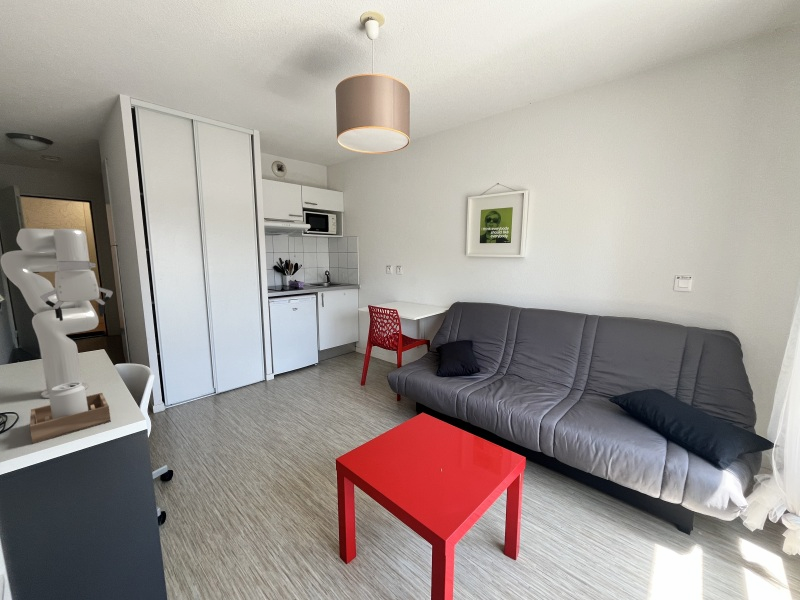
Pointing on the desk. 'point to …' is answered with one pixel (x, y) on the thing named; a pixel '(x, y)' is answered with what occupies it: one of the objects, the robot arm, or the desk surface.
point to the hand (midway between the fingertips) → (81, 318)
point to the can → (68, 400)
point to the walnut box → (68, 419)
